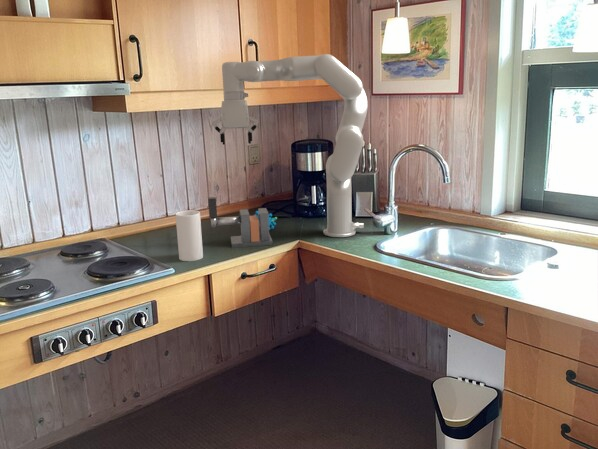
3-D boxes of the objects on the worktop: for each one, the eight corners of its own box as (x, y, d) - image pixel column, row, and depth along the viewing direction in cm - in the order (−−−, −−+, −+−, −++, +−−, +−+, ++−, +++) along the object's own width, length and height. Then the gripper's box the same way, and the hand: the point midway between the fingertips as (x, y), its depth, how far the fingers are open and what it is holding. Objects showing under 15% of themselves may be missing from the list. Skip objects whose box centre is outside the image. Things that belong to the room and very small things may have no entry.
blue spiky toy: (259, 229, 220) (251, 208, 225) (253, 237, 224) (245, 217, 229) (282, 228, 227) (273, 208, 231) (275, 236, 231) (267, 216, 235)
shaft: (243, 223, 208) (241, 195, 205) (244, 226, 204) (242, 197, 201) (210, 225, 206) (208, 197, 203) (210, 228, 202) (208, 199, 200)
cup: (174, 258, 192) (170, 213, 188) (193, 252, 198) (190, 209, 194) (188, 262, 187) (185, 217, 183) (207, 256, 193) (204, 212, 189)
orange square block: (257, 235, 212) (256, 215, 210) (259, 241, 205) (258, 220, 202) (249, 235, 212) (248, 215, 210) (251, 241, 204) (250, 220, 202)
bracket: (269, 237, 214) (268, 207, 211) (272, 244, 205) (271, 213, 202) (230, 240, 212) (228, 209, 209) (231, 247, 202) (230, 216, 199)
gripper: (256, 95, 208) (258, 141, 212) (210, 97, 205) (213, 143, 209) (258, 96, 201) (260, 143, 205) (210, 98, 198) (213, 146, 202)
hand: (236, 143), depth 207 cm, fingers open, 9 cm apart
